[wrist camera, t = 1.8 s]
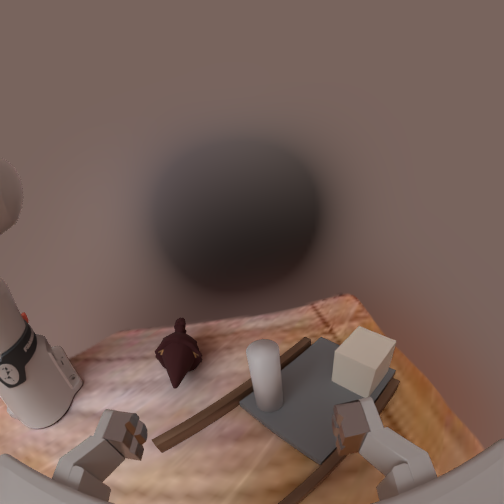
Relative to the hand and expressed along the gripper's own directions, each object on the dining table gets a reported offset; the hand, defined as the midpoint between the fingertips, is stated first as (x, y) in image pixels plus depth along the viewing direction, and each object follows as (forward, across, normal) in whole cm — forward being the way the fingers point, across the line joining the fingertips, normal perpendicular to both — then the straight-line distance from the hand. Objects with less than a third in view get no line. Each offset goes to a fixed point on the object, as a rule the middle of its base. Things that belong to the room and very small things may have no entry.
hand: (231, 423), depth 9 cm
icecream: (+24, +13, +22) cm, 35 cm away
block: (+18, -14, +21) cm, 30 cm away
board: (+17, -8, +22) cm, 29 cm away
